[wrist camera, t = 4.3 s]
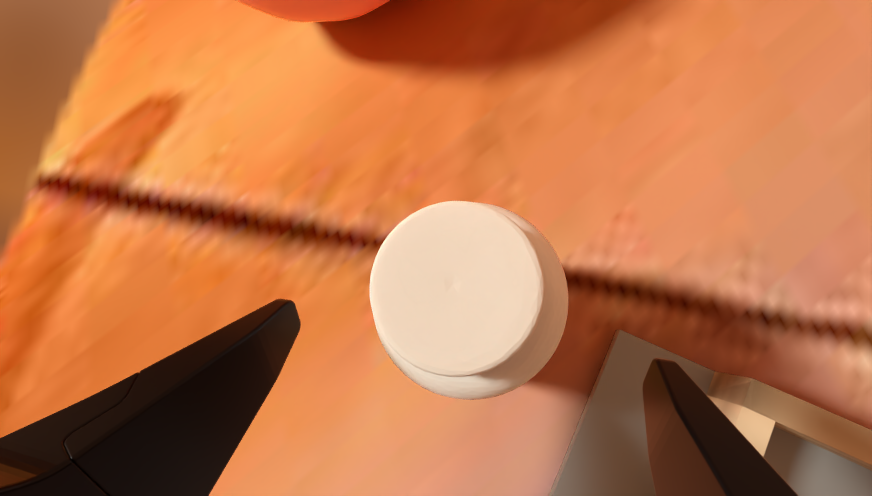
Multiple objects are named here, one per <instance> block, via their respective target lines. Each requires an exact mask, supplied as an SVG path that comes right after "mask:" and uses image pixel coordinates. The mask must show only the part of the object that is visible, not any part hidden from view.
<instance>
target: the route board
mask: <svg viewBox="0 0 872 496" xmlns="http://www.w3.org/2000/svg"><path fill="white" fill-rule="evenodd" d="M654 358H662V359H668V360H673V361H675V362H676V363H678V364H679V365H680V367H681V368H682V369H683V370H684V371H685V372H686V373H687V374H688V375H689V376H690V377H691V379H692V380H693V381H694V382H695V383H696V384H697V385H698V386H699V387H700V388H701V389H702V391H703V392H704V393H705V394H707V392H708V389H709V386H710V384H711V381H712V378H713V375H714V373H715V371H713V370H711V369H708V368H706V367H704V366H702V365H699V364H697V363H695V362H693V361H690V360H688V359H686V358H683V357H681V356H679V355H677V354H674V353H672V352H670V351H668V350H665V349H663V348H661V347H659V346H656V345H654V344H652V343H649V342H647V341H645V340H643V339H640V338H638V337H636V336H634V335H631V334H629V333H627V332H624V331H622V330H616V332H615V335H614V337H613V340H612V342H611V345H610V347H609V350H608V352H607V355H606V357H605V359H604V362H603V364H602V367H601V369H600V372H599V374H598V377H597V379H596V382H595V384H594V386H593V389H592V391H591V394H590V396H589V399H588V401H587V404H586V406H585V409H584V411H583V413H582V416H581V418H580V421H579V423H578V426H577V428H576V431H575V433H574V436H573V438H572V440H571V443H570V445H569V448H568V450H567V453H566V455H565V458H564V460H563V463H562V465H561V467H560V470H559V472H558V475H557V477H556V480H555V482H554V485H553V487H552V490H551V492H550V494H549V496H656V492H655V487H654V483H653V478H652V473H651V468H650V462H649V456H648V447H647V436H646V424H645V413H644V402H643V381H644V379H645V376H646V374H647V371H648V369H649V366H650V364H651V362H652V360H653V359H654ZM763 457H764V458H765V459H766V461H767V462H768V463H769V464H770V465H771V466H772V467H773V468H774V469H775V470H776V471H777V473H778V474H779V475H780V476H781V477H782V478H783V479H784V480H785V481H786V482H787V483H788V485H789V486H790V487H791V488H792V489H793V490H794V491H795V492H796V493H797V494H798V496H872V471H871V470H869V469H867V468H865V467H862V466H860V465H858V464H856V463H854V462H851V461H849V460H847V459H845V458H843V457H841V456H838V455H836V454H834V453H832V452H830V451H827V450H825V449H823V448H821V447H819V446H817V445H814V444H812V443H810V442H808V441H806V440H804V439H801V438H799V437H797V436H795V435H793V434H790V433H788V432H786V431H784V430H782V429H780V428H777V427H775V426H774V427H773V430H772V433H771V436H770V439H769V442H768V445H767V448H766V451H765V454H764V456H763Z"/></svg>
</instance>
